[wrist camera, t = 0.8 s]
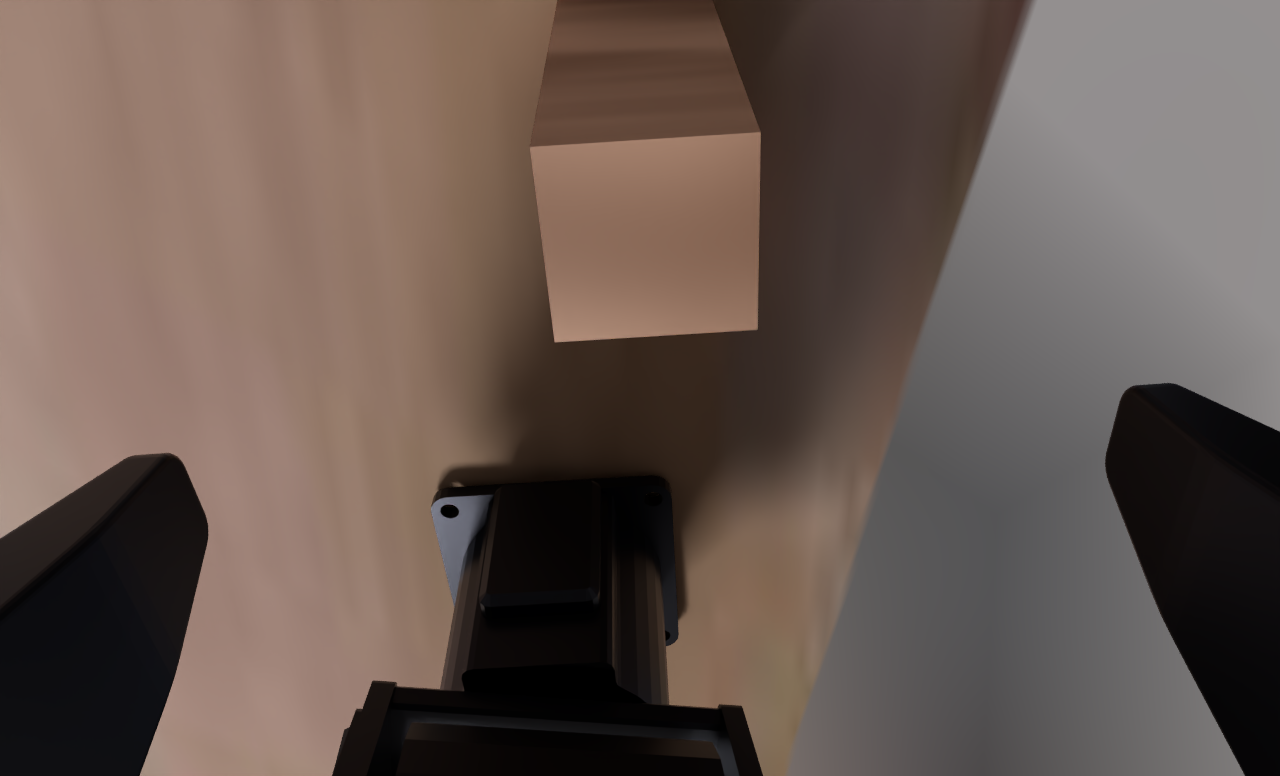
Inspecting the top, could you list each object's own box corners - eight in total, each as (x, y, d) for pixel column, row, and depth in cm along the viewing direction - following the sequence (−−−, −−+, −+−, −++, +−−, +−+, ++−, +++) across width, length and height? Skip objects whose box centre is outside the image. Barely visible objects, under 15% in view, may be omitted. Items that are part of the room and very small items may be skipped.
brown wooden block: (710, 136, 21) (757, 329, 14) (572, 145, 21) (554, 341, 14) (708, -10, 19) (760, 132, 12) (557, -1, 19) (529, 147, 12)
